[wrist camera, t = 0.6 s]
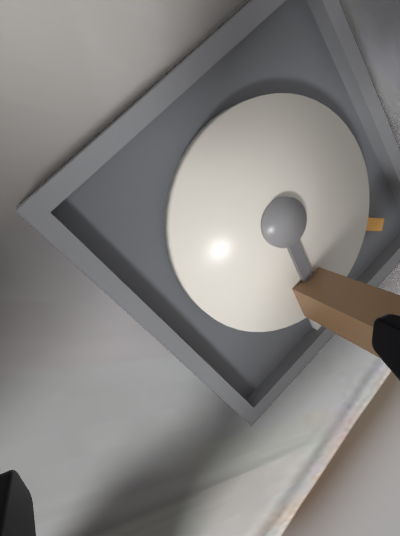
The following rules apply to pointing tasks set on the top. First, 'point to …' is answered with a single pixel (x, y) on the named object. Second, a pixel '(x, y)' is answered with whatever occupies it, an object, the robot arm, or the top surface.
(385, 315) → the robot arm
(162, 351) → the top surface
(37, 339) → the top surface
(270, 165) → the dial
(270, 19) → the dial board
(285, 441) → the top surface
